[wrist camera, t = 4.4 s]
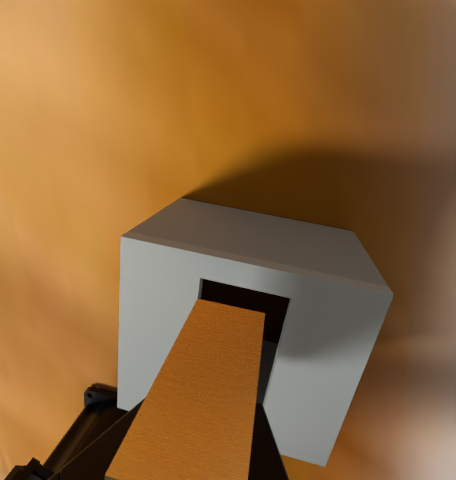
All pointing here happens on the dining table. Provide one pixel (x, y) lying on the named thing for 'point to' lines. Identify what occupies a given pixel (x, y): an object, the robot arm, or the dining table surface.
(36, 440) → the dining table surface
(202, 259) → the coin box
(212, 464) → the block
